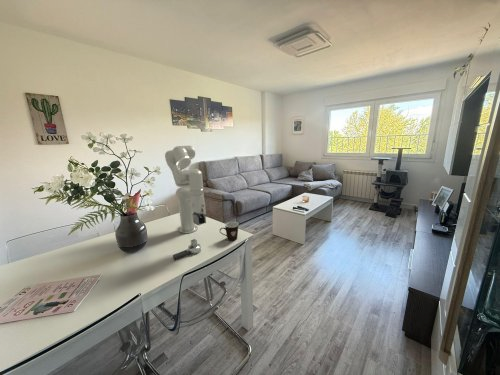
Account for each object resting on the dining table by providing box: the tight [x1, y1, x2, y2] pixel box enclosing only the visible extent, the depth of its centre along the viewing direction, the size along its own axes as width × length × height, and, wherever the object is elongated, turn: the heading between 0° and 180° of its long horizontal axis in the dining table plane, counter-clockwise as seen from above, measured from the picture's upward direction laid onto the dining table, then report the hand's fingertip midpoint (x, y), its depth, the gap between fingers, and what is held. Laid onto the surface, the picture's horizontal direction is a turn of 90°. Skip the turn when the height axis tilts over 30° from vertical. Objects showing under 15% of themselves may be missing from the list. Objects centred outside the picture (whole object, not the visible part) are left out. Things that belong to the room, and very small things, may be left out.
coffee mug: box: [219, 221, 239, 242], centre depth 132 cm, size 12×9×10 cm
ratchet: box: [172, 238, 202, 262], centre depth 116 cm, size 7×16×7 cm, turn 132°
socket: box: [192, 213, 207, 226], centre depth 120 cm, size 5×5×6 cm
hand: (199, 221), depth 121 cm, fingers closed on socket, 5 cm apart
